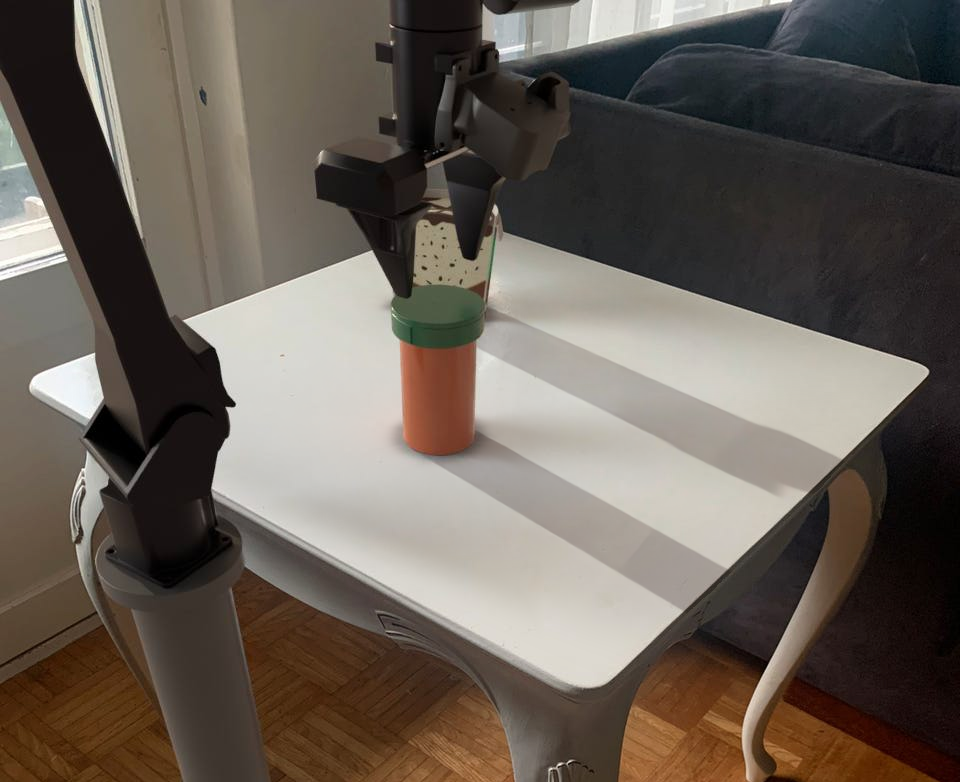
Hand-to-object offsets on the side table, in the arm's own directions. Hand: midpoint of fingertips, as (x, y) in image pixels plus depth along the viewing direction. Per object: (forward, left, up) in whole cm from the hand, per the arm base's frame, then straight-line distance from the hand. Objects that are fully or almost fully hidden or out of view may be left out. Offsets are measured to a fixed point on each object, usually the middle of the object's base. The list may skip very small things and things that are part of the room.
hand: (437, 277), depth 68 cm
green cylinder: (0, 0, -2) cm, 2 cm away
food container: (+22, +14, -13) cm, 29 cm away
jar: (0, 0, -13) cm, 13 cm away
